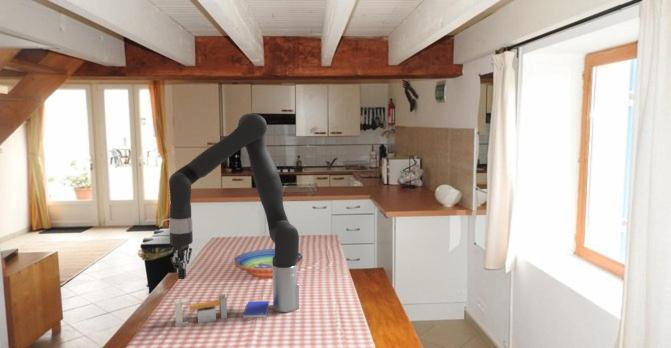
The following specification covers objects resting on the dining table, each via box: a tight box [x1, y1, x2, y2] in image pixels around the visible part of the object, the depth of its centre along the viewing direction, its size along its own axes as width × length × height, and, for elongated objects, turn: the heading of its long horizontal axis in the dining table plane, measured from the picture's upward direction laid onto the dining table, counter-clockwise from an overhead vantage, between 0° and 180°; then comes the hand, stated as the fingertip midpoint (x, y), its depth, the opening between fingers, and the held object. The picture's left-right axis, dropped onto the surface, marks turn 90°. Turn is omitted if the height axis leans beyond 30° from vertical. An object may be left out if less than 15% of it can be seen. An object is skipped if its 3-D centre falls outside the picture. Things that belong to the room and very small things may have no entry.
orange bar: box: [189, 299, 221, 311], centre depth 168 cm, size 12×2×2 cm, turn 111°
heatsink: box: [196, 306, 217, 324], centre depth 168 cm, size 6×6×4 cm
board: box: [174, 293, 228, 327], centre depth 168 cm, size 19×15×8 cm
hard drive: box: [243, 300, 270, 319], centre depth 178 cm, size 2×8×12 cm
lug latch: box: [174, 297, 189, 323], centre depth 165 cm, size 4×4×8 cm
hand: (182, 278), depth 165 cm, fingers closed
